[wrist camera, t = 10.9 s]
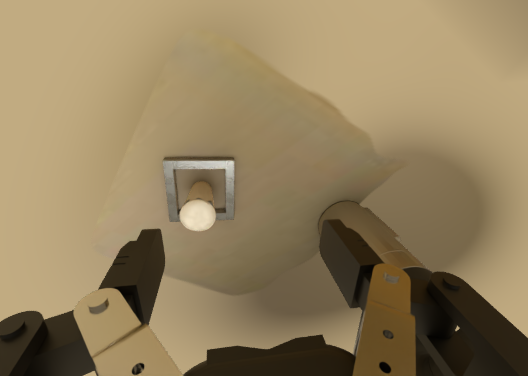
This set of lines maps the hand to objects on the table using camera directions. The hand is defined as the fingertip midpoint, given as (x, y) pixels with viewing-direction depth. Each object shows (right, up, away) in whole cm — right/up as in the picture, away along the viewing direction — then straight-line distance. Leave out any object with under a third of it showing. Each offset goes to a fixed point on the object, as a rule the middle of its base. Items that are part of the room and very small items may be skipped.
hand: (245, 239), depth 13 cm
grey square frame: (-9, +3, +27) cm, 29 cm away
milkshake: (-9, +3, +28) cm, 29 cm away
